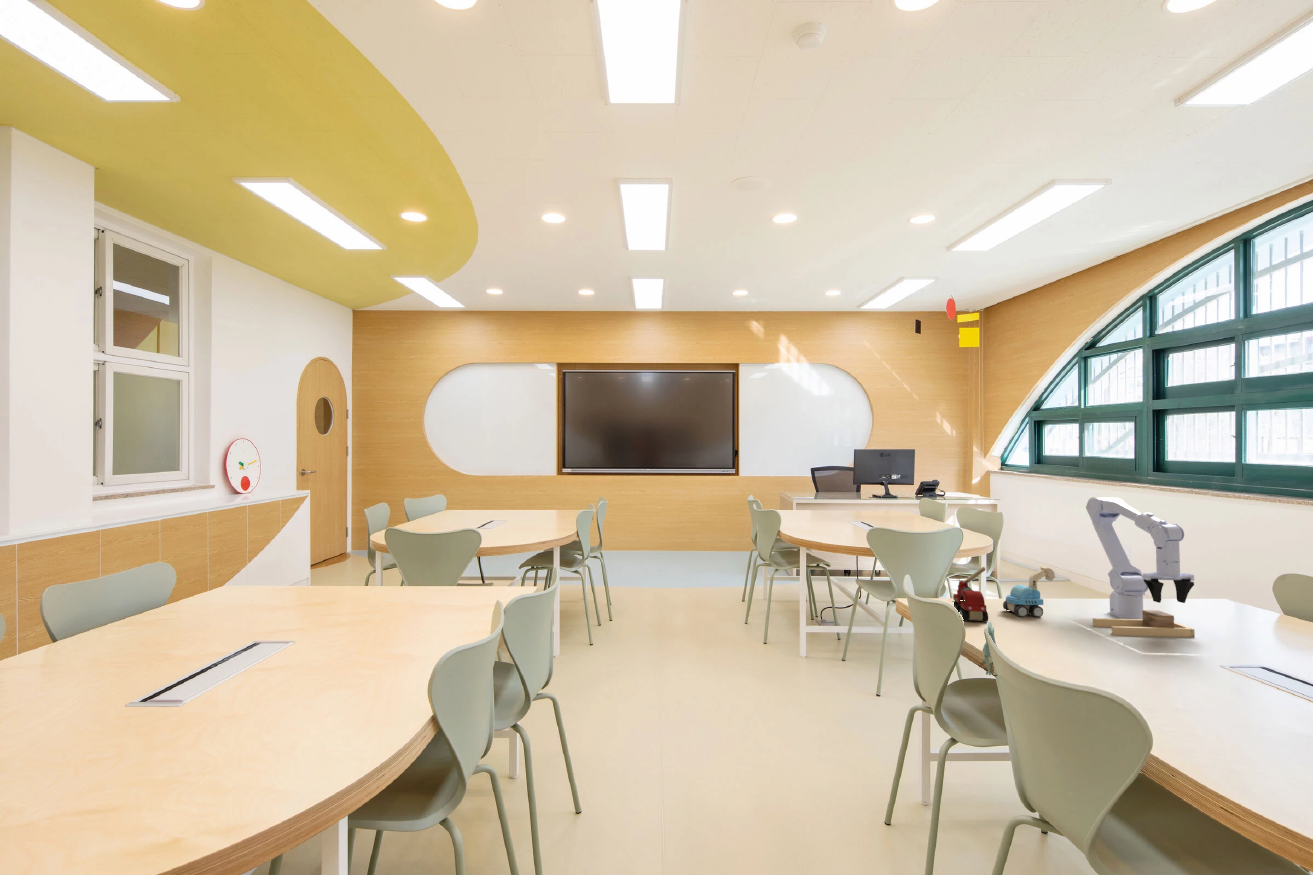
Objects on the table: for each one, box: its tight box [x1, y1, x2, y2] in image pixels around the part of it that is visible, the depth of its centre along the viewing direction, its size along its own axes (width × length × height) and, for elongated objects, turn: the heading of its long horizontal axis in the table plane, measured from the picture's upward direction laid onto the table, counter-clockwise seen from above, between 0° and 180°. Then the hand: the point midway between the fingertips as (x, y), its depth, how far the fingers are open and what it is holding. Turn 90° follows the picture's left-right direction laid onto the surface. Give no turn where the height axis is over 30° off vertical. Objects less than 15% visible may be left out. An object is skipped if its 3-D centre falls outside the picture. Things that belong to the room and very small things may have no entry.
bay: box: [1092, 617, 1195, 638], centre depth 180 cm, size 10×24×3 cm, turn 85°
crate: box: [1142, 609, 1175, 628], centre depth 180 cm, size 6×5×6 cm
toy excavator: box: [1002, 566, 1056, 618], centre depth 201 cm, size 9×17×17 cm, turn 89°
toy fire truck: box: [952, 566, 989, 622], centre depth 198 cm, size 11×16×18 cm
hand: (1169, 601), depth 181 cm, fingers open, 7 cm apart
